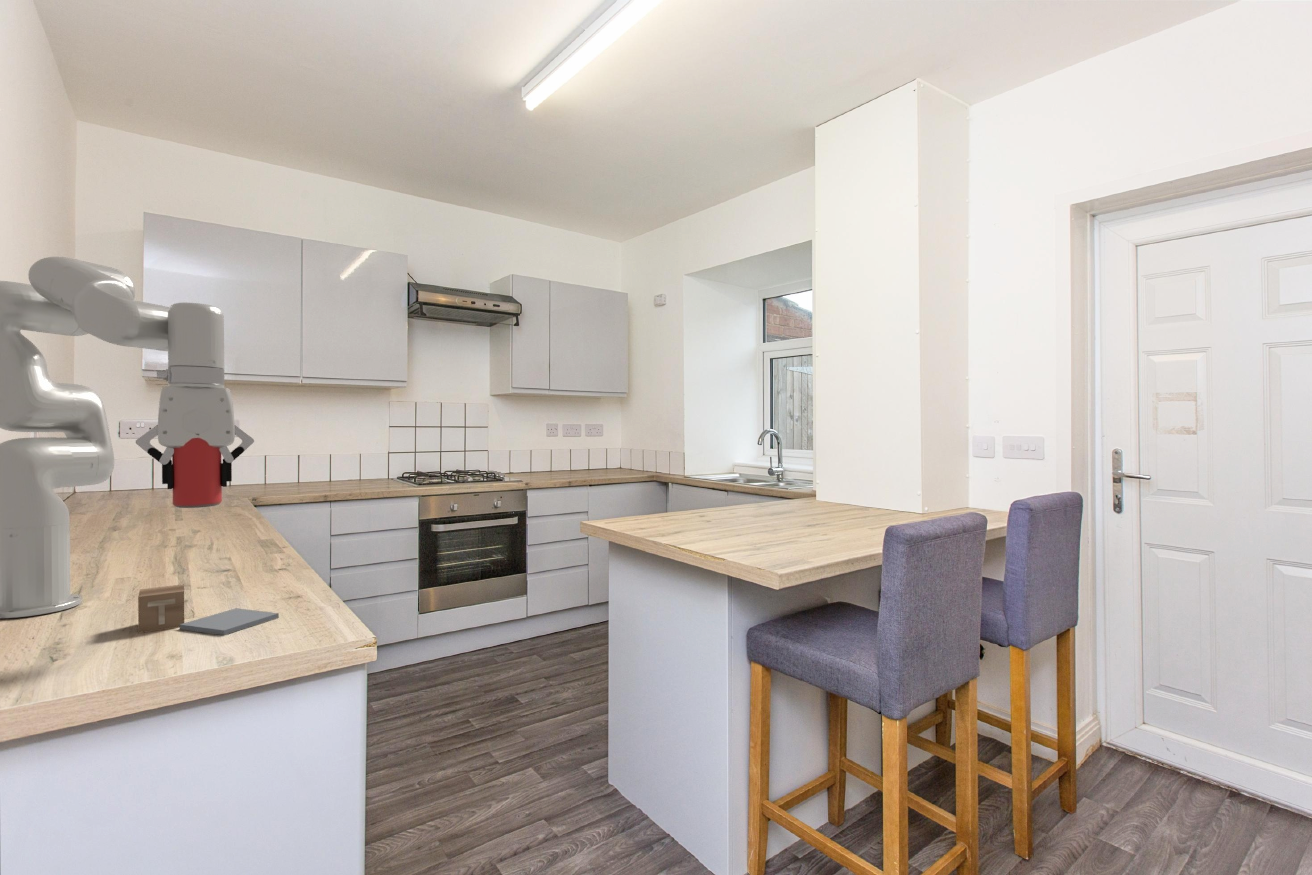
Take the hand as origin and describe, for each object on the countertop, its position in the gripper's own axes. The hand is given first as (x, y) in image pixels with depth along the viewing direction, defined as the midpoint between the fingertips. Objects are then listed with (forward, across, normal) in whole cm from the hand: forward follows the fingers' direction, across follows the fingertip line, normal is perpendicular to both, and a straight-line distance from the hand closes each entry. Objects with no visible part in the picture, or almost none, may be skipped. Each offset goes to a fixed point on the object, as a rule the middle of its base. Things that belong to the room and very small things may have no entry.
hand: (197, 486), depth 104 cm
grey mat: (+24, +4, +1) cm, 24 cm away
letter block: (+24, -5, +7) cm, 25 cm away
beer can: (+3, 0, 0) cm, 3 cm away
